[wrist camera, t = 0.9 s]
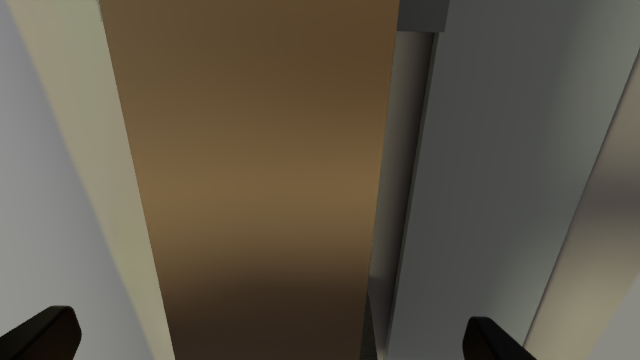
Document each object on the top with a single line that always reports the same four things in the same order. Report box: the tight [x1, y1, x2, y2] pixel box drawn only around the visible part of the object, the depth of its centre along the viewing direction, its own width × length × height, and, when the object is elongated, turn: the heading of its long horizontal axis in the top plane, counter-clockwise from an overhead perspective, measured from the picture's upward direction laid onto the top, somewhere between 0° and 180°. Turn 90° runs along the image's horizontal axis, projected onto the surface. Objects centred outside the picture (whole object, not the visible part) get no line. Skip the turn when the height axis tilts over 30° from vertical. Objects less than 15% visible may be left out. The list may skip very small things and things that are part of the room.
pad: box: [384, 0, 640, 360], centre depth 16 cm, size 25×7×1 cm, turn 178°
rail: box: [98, 0, 400, 360], centre depth 10 cm, size 22×4×4 cm, turn 178°
